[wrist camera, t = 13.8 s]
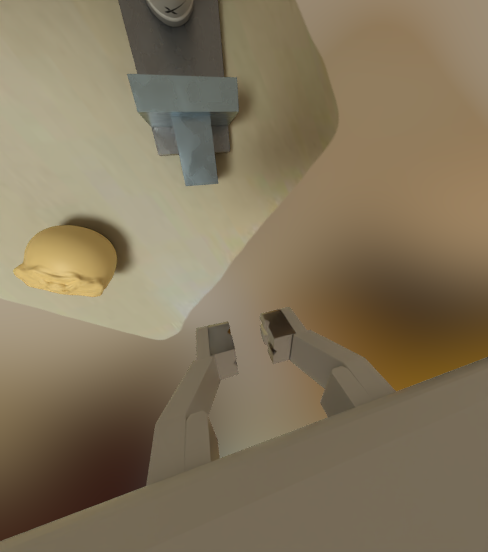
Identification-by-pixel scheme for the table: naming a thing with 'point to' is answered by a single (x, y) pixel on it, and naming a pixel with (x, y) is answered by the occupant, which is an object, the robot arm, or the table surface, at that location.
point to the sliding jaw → (188, 115)
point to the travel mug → (172, 11)
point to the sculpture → (68, 261)
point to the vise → (177, 55)
